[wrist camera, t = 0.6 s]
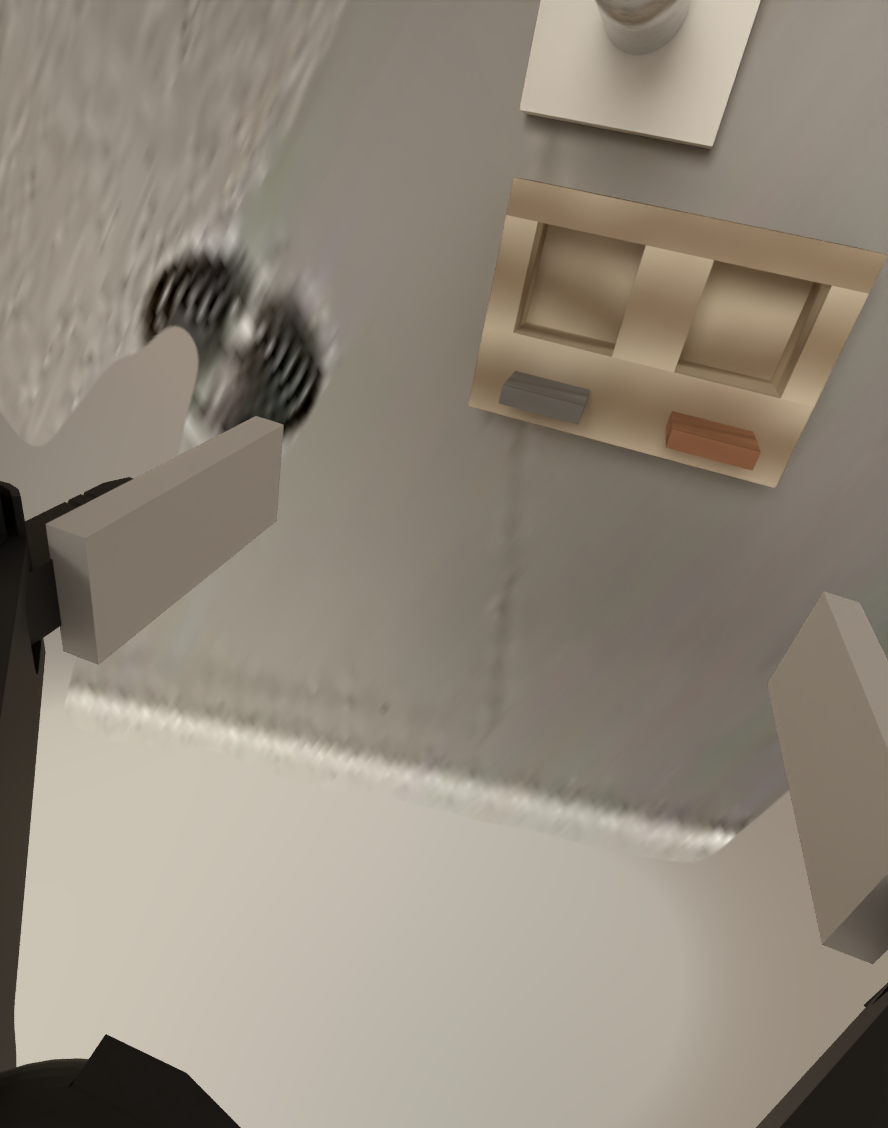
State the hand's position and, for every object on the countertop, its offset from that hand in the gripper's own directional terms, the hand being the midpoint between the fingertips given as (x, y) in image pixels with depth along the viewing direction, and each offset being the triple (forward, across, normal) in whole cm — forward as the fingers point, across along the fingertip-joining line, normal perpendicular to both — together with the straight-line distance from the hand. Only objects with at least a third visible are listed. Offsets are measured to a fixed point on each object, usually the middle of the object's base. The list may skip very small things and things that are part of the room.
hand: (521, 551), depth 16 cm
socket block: (+29, +2, +2) cm, 29 cm away
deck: (+29, -3, +15) cm, 33 cm away
